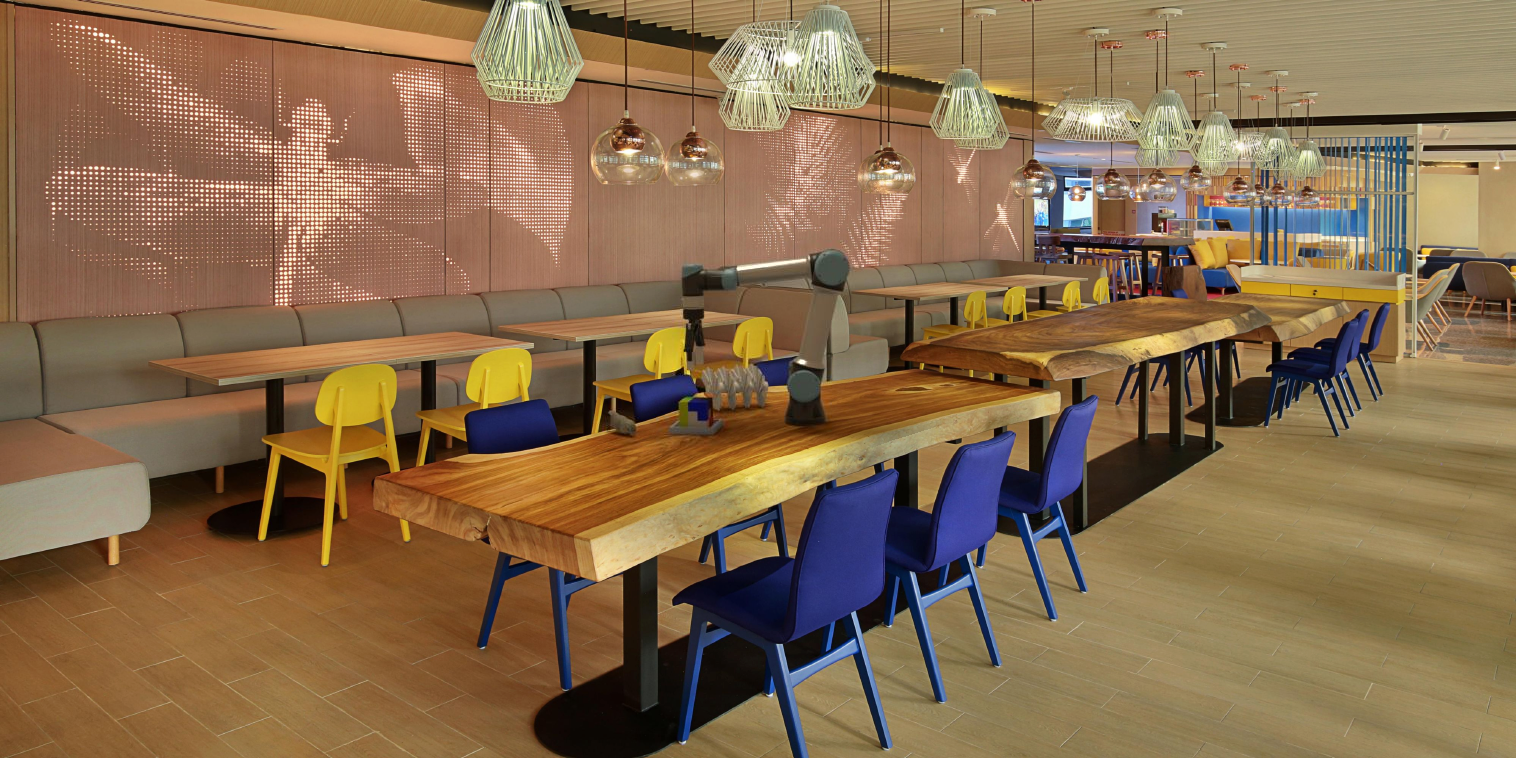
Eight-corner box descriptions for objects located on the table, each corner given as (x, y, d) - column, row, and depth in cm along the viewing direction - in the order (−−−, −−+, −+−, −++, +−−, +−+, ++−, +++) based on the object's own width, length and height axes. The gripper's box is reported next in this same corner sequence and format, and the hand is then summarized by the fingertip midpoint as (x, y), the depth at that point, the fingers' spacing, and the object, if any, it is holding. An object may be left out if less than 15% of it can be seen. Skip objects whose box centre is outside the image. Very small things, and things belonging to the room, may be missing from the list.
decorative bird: (627, 439, 358) (627, 417, 357) (604, 431, 371) (603, 411, 370) (641, 436, 362) (640, 415, 360) (617, 429, 374) (616, 409, 373)
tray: (723, 425, 377) (722, 419, 376) (713, 435, 361) (713, 428, 361) (680, 424, 380) (680, 418, 379) (669, 434, 364) (668, 427, 364)
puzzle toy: (706, 430, 364) (706, 402, 363) (679, 429, 366) (678, 402, 365) (713, 424, 374) (712, 397, 372) (686, 423, 376) (685, 396, 374)
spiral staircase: (769, 418, 409) (710, 420, 400) (755, 392, 422) (697, 394, 413) (778, 379, 399) (717, 381, 390) (764, 355, 413) (704, 356, 404)
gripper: (691, 304, 376) (693, 362, 379) (673, 311, 352) (676, 372, 355) (711, 304, 375) (713, 362, 378) (695, 311, 350) (697, 373, 354)
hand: (695, 367), depth 367 cm, fingers open, 13 cm apart
